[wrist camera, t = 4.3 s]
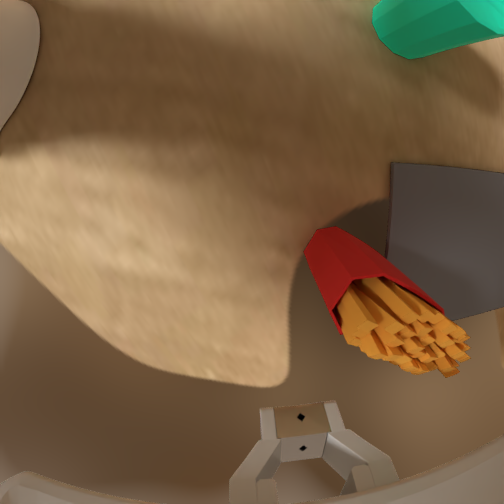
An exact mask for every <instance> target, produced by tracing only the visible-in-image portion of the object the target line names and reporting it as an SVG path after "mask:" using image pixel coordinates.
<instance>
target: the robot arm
mask: <svg viewBox="0 0 504 504" xmlns="http://www.w3.org/2000/svg"><path fill="white" fill-rule="evenodd" d="M39 42H40V25H39V19H38V16H37V13H36V11H35V10H34V8H33V7H32V6H31V5H30V4H29V3H27V2H25V1H22V0H0V131H1V129H2V127H3V125H4V124H5V123H6V121H7V120H8V118H9V117H10V116H11V114H12V113H13V111H14V110H15V108H16V106H17V105H18V103H19V101H20V99H21V97H22V95H23V94H24V91H25V89H26V87H27V85H28V82H29V80H30V77H31V75H32V72H33V69H34V66H35V62H36V58H37V54H38V49H39ZM260 422H261V423H260V424H261V440H259V441H258V442H257V444H256V445H255V446H254V448H253V449H252V451H251V452H250V453H249V455H248V456H247V457H246V459H245V460H244V461H243V463H242V464H241V465H240V467H239V468H238V469H237V471H236V472H235V473H234V475H233V476H232V477H231V479H230V486H229V487H230V488H229V490H230V491H229V504H279V503H278V495H277V487H276V481H275V480H273V479H272V477H273V476H274V474H275V472H276V470H277V469H278V467H279V465H280V463H281V462H288V461H295V460H303V459H312V458H320V457H322V458H323V459H324V460H325V461H326V462H327V463H328V464H329V465H330V466H331V467H332V468H333V469H334V470H335V471H336V472H337V473H339V474H340V475H341V476H342V477H343V478H344V479H345V480H346V483H345V485H344V487H343V489H342V491H341V494H340V496H337V497H332V498H326V499H320V500H314V501H307V502H300V503H292V504H504V435H502V436H500V437H498V438H496V439H495V440H493V441H491V442H489V443H487V444H485V445H483V446H481V447H480V448H478V449H476V450H474V451H472V452H469V453H468V454H465V455H463V456H461V457H459V458H457V459H454V460H452V461H450V462H448V463H446V464H443V465H440V466H438V467H436V468H433V469H430V470H428V471H425V472H422V473H420V474H417V475H414V476H411V477H409V478H406V479H402V480H399V478H398V476H397V473H396V471H395V468H394V466H393V463H392V461H391V458H390V457H389V456H388V455H386V454H385V453H383V452H382V451H380V450H379V449H377V448H376V447H374V446H373V445H371V444H370V443H368V442H366V441H365V440H364V439H363V438H361V437H359V436H358V435H357V434H355V433H354V432H352V431H351V430H350V429H345V427H344V424H343V421H342V418H341V415H340V412H339V409H338V406H337V403H336V401H335V400H332V401H325V402H317V403H310V404H302V405H297V406H284V407H269V408H260ZM0 504H161V503H153V502H146V501H139V500H132V499H127V498H121V497H116V496H112V495H107V494H102V493H98V492H94V491H90V490H86V489H82V488H79V487H75V486H72V485H68V484H65V483H62V482H59V481H55V480H53V479H49V478H47V477H44V476H41V475H39V474H36V473H33V472H29V471H25V472H22V473H19V474H17V475H15V476H13V477H11V478H9V479H8V480H6V481H4V482H2V483H1V484H0Z"/></svg>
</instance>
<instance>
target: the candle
mask: <svg viewBox="0 0 504 504" xmlns="http://www.w3.org/2000/svg"><path fill="white" fill-rule="evenodd" d="M372 24H373V26H374V28H375V30H376V33H377V35H378V37H379V39H380V40H381V41H382V42H383V43H384V44H385V45H386V46H387V47H388V48H389V49H390V50H391V51H392V52H393V53H395V54H398V55H400V56H402V57H405V58H407V59H415V58H422V57H425V56H429V55H432V54H435V53H439V52H442V51H445V50H449V49H453V48H456V47H460V46H464V45H468V44H472V43H476V42H480V41H484V40H489V39H493V38H498V37H503V36H504V0H381V1H380V2H379V3H378V4H377V5H376V6H375V7H374V8H373V15H372Z"/></svg>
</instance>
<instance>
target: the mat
mask: <svg viewBox="0 0 504 504" xmlns="http://www.w3.org/2000/svg"><path fill="white" fill-rule="evenodd" d="M385 258H386V259H387V260H388V261H389V262H390V263H392V264H393V265H394V266H395V267H396V268H398V269H399V270H400V271H401V272H402V273H403V274H405V275H406V276H407V277H408V278H409V279H410V280H412V281H413V282H414V283H415V284H416V285H417V286H418V287H420V288H421V289H422V290H423V291H424V292H425V293H426V294H427V295H429V296H430V297H431V298H432V299H433V300H434V301H435V302H436V303H437V304H439V305H440V306H441V307H442V308H443V309H444V314H445V316H446V317H447V318H448V319H450V320H451V321H453V320H458V319H461V318H465V317H469V316H473V315H477V314H481V313H484V312H488V311H491V310H495V309H498V308H502V307H504V173H498V172H490V171H483V170H475V169H466V168H457V167H447V166H436V165H424V164H410V163H393V162H391V181H390V201H389V217H388V230H387V240H386V250H385Z"/></svg>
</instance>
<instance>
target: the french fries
mask: <svg viewBox="0 0 504 504" xmlns="http://www.w3.org/2000/svg"><path fill="white" fill-rule="evenodd" d="M304 254H305V257H306V259H307V262H308V265H309V267H310V270H311V272H312V274H313V276H314V279H315V281H316V283H317V285H318V288H319V290H320V292H321V294H322V296H323V299H324V301H325V303H326V306H327V308H328V310H329V312H330V314H331V316H332V319H333V321H334V323H335V325H336V327H337V329H338V331H339V333H340V335H342V334H344V337H345V339H346V341H347V344H350V345H353V346H357V347H358V346H359V347H360V349H361V351H362V352H364V353H366V354H367V355H368V357H371V358H373V359H381V358H382V359H383V360H386V361H389V362H390V363H392V364H394V365H398V366H399V367H401V369H402V370H404V371H407V372H409V371H410V372H411V373H412V374H416V375H419V374H423V373H425V372H429V371H432V370H435V369H438V370H439V371H440V372H441V373H442V374H443V375H444V376H445V378H447V377H450V376H453V375H455V374H457V373H459V372H460V371H459V370H458V369H457V368H456V367H458V366H459V365H458V364H457V362H456V361H455V360H456V359H457V360H458V361H459V362H460V363H461V362H464V361H466V360H468V359H471V358H470V357H469V356H468V355H467V354H466V353H465V351H467V350H468V349H470V347H469V346H468V345H467V344H465V343H464V342H463V341H466V340H467V339H469V338H470V337H469V336H468V335H467V334H466V332H465V331H464V330H463V329H462V328H461V327H459V326H458V325H457V324H455V323H454V322H452V321H451V320H450V319H448V318H447V317H446V316H445V314H444V309H443V308H442V307H441V306H440V305H439V304H437V303H436V302H435V301H434V300H433V299H432V298H431V297H430V296H429V295H427V294H426V293H425V292H424V291H423V290H422V289H421V288H420V287H418V286H417V285H416V284H415V283H414V282H413V281H412V280H410V279H409V278H408V277H407V276H406V275H405V274H403V273H402V272H401V271H400V270H399V269H398V268H396V267H395V266H394V265H393V264H392V263H390V262H389V261H388V260H387V259H386V258H384V257H383V256H382V255H380V253H378V252H377V251H376V250H375V249H373V248H372V247H370V246H369V245H367V244H366V243H364V242H363V241H361V240H360V239H358V238H356V237H354V236H353V235H351V234H349V233H348V232H346V231H344V230H342V229H340V228H338V227H336V226H334V227H329V228H323V229H318V230H316V232H315V234H314V235H313V237H312V239H311V240H310V242H309V244H308V245H307V247H306V248H305V250H304Z"/></svg>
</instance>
